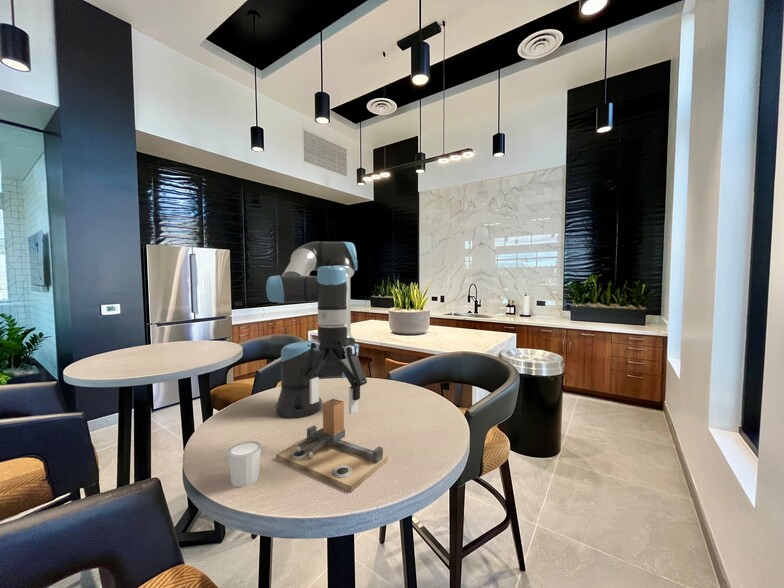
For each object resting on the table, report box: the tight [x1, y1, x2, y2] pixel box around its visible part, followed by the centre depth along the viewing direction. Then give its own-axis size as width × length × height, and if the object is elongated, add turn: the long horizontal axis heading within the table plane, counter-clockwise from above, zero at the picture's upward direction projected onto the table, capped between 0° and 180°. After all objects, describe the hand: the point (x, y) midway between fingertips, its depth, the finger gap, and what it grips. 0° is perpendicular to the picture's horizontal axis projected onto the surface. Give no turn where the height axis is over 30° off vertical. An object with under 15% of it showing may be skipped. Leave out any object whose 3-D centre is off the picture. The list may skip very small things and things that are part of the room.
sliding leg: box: [309, 398, 346, 458], centre depth 81 cm, size 4×11×11 cm, turn 148°
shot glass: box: [227, 440, 262, 488], centre depth 71 cm, size 7×7×7 cm
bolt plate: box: [275, 425, 389, 493], centre depth 78 cm, size 24×14×4 cm, turn 58°
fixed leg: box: [298, 427, 323, 454], centre depth 83 cm, size 4×11×2 cm, turn 148°
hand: (333, 407), depth 83 cm, fingers open, 13 cm apart
